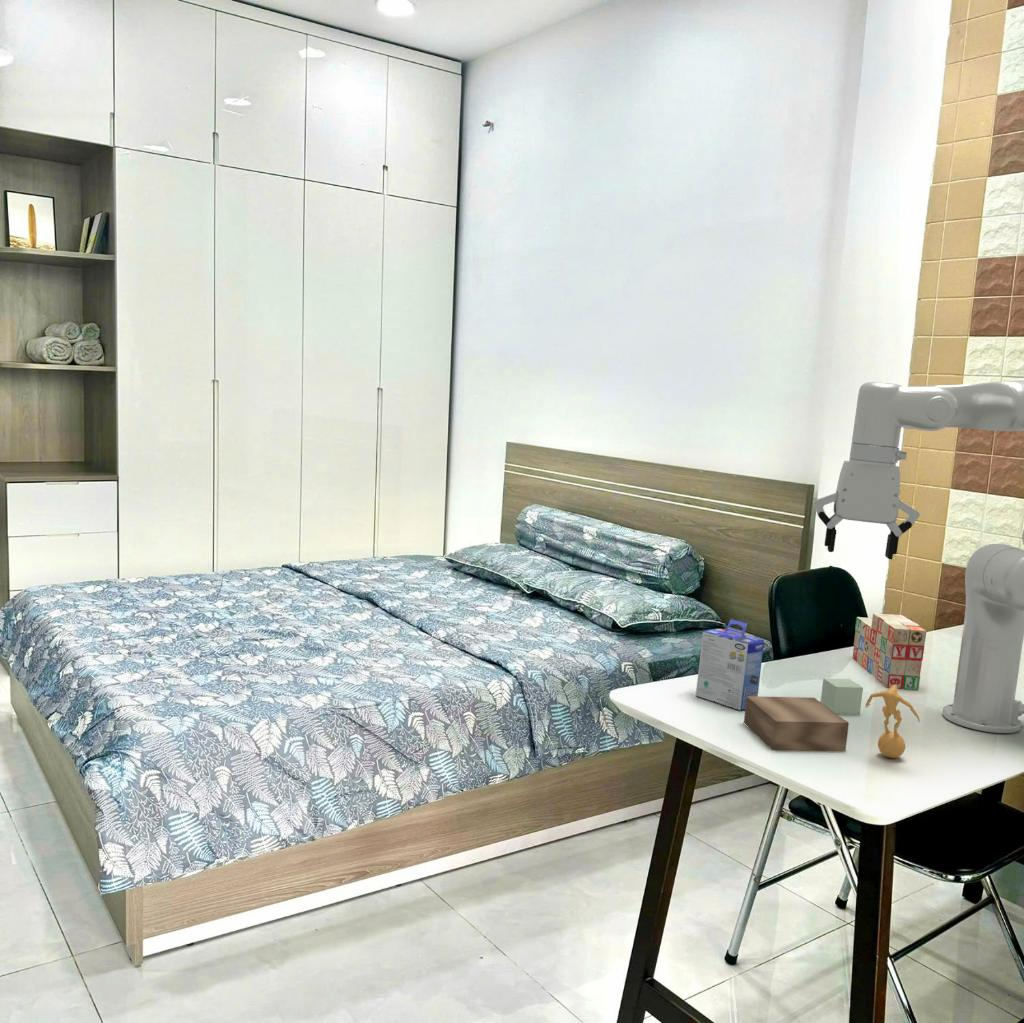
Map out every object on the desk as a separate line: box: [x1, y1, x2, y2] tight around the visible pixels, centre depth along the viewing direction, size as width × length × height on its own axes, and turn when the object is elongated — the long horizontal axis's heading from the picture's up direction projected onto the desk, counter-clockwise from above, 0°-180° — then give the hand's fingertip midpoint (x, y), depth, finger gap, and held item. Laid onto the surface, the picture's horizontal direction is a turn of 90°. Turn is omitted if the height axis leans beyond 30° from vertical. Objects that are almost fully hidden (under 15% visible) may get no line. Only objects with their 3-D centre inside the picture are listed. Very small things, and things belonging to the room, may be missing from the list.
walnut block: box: [743, 695, 850, 752], centre depth 157 cm, size 12×12×5 cm
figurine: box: [865, 685, 921, 759], centre depth 149 cm, size 8×6×12 cm
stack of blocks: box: [852, 612, 927, 692], centre depth 198 cm, size 21×6×12 cm, turn 179°
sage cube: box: [820, 677, 864, 716], centre depth 173 cm, size 5×5×5 cm
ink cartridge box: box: [695, 618, 765, 711], centre depth 172 cm, size 10×6×14 cm, turn 44°
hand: (859, 554), depth 168 cm, fingers open, 9 cm apart
